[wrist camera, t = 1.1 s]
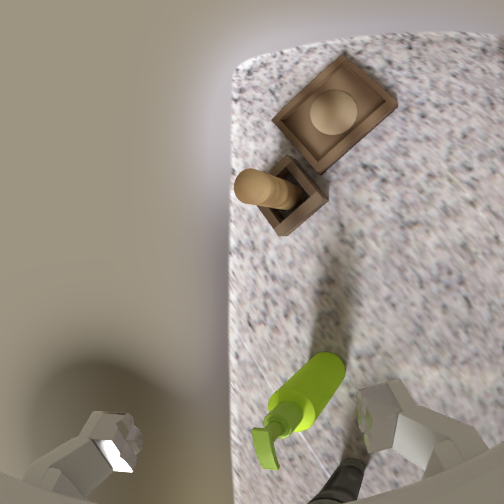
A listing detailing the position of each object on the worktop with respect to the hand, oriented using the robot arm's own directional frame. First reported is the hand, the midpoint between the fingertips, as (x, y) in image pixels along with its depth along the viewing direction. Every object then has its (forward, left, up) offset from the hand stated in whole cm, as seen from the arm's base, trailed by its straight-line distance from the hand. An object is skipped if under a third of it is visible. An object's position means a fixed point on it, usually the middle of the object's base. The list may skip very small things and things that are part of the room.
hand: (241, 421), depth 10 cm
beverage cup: (+20, +25, -35) cm, 47 cm away
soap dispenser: (+14, +7, -35) cm, 38 cm away
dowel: (+3, -17, -34) cm, 39 cm away
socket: (+3, -17, -34) cm, 39 cm away
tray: (-10, -22, -34) cm, 42 cm away
